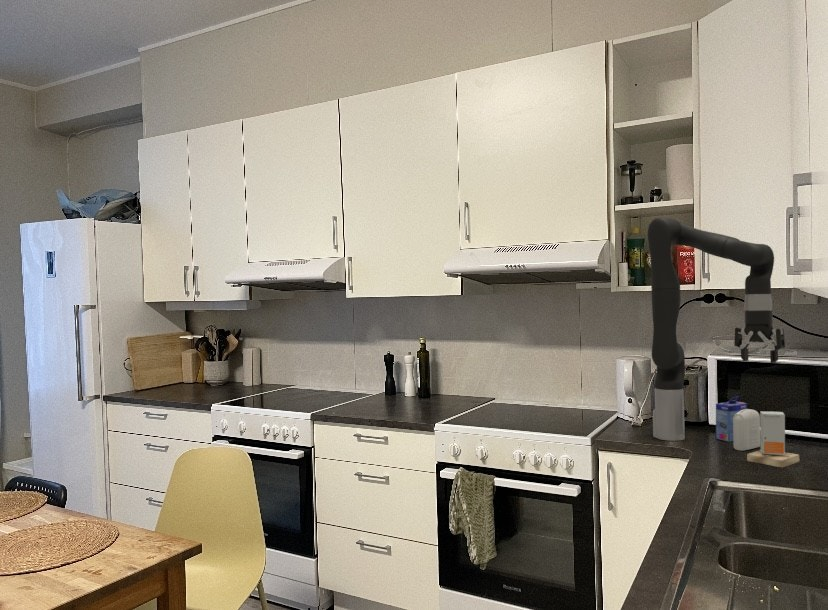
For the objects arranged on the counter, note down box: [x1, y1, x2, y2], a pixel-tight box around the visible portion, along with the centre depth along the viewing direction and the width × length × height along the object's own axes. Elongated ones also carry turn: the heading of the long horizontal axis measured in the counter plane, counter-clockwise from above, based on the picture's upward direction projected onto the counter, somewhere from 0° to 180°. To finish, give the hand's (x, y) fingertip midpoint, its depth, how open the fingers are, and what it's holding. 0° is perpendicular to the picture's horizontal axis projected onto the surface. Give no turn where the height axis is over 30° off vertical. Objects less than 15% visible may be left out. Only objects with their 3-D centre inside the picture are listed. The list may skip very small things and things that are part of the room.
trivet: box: [746, 449, 800, 468], centre depth 192 cm, size 10×10×2 cm
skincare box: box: [759, 410, 786, 455], centre depth 192 cm, size 6×4×12 cm
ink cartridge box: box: [715, 395, 748, 443], centre depth 221 cm, size 10×6×14 cm, turn 119°
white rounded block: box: [732, 408, 761, 452], centre depth 208 cm, size 10×4×12 cm, turn 123°
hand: (759, 361), depth 201 cm, fingers open, 8 cm apart
